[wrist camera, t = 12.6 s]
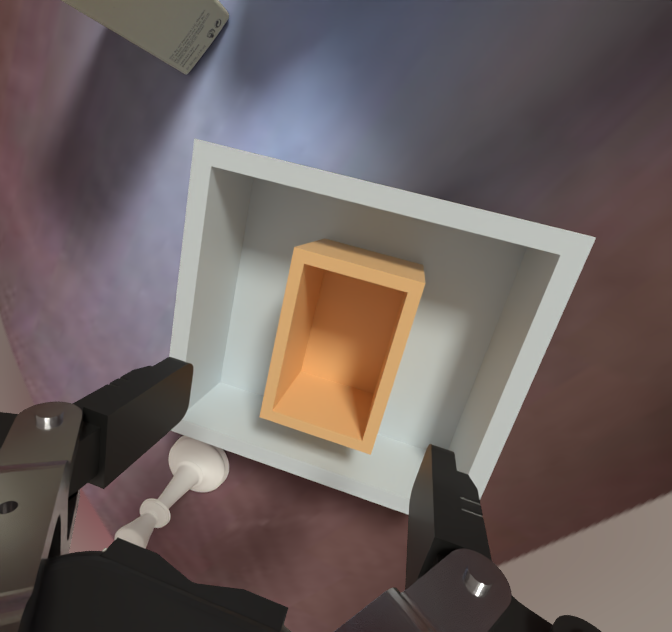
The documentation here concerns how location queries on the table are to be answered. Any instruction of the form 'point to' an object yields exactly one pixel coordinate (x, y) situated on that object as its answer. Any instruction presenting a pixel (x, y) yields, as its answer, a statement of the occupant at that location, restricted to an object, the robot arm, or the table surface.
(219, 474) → the chess piece
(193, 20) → the skincare box
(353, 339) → the small crate
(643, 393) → the table surface
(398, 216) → the big crate
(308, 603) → the table surface
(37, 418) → the robot arm
